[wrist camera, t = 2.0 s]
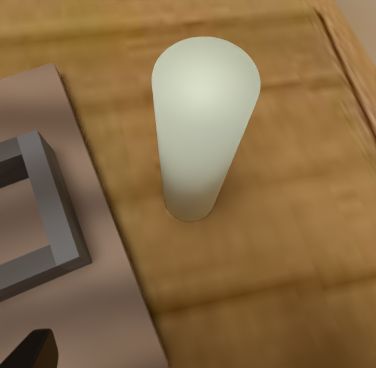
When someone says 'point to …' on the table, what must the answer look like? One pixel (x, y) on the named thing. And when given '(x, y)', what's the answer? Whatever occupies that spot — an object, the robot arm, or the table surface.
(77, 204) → the keeper
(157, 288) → the table surface
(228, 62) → the pale green peg
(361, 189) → the table surface
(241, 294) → the table surface
